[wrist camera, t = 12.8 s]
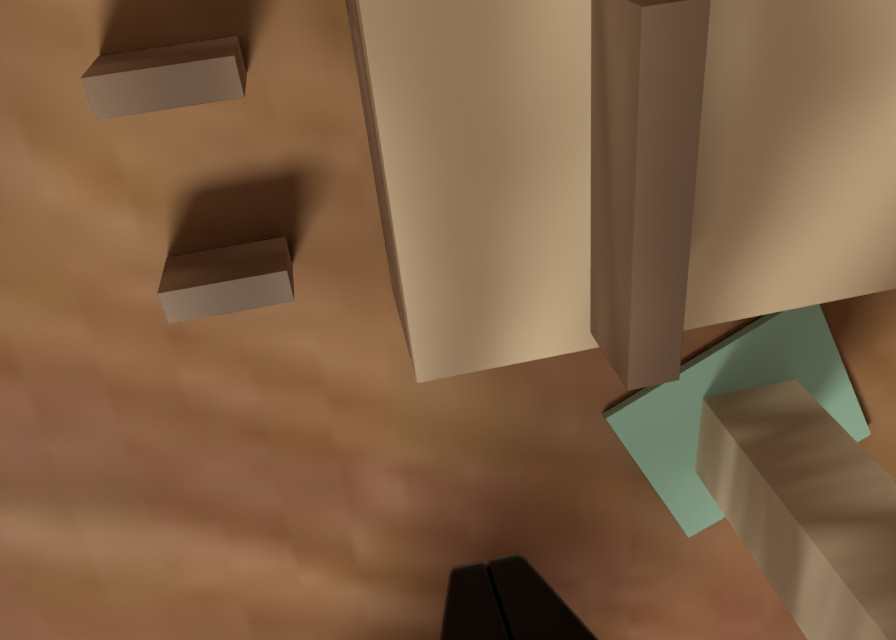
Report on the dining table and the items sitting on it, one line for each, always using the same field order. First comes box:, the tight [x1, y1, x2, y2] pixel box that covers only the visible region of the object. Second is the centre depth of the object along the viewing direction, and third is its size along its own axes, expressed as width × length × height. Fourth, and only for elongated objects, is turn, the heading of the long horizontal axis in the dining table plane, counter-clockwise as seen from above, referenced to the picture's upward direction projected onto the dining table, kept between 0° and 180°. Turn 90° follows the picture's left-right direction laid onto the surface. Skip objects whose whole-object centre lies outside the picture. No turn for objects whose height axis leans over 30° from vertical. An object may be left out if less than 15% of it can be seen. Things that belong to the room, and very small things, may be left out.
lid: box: [356, 0, 896, 391], centre depth 16 cm, size 15×9×3 cm, turn 96°
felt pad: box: [602, 304, 871, 537], centre depth 28 cm, size 8×8×1 cm
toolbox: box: [81, 0, 411, 358], centre depth 19 cm, size 20×9×4 cm, turn 96°
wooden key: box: [695, 379, 896, 640], centre depth 23 cm, size 4×4×13 cm
